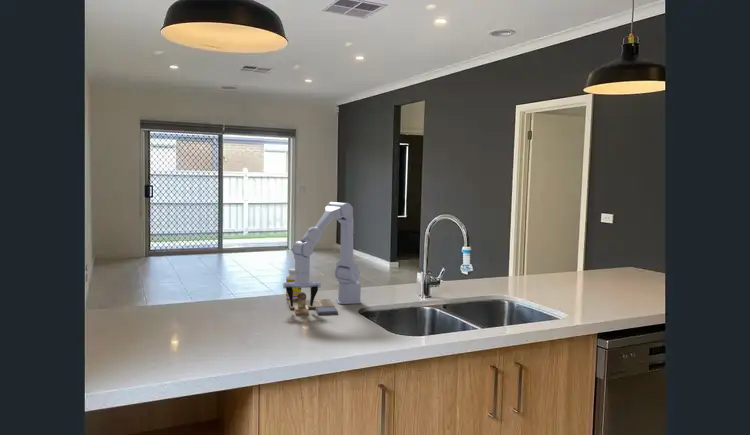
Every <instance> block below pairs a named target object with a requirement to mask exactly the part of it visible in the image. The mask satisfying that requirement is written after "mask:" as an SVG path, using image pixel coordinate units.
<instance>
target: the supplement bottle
mask: <svg viewBox="0 0 750 435" xmlns="http://www.w3.org/2000/svg"><path fill="white" fill-rule="evenodd" d="M285 279H286V281H285V283H288V282H295V268H289V269H288V274H287V275H286V278H285ZM292 289H293V300H298V299H297V295H298V294H299V293H300V292H302V288H292ZM285 298H286V299H287V300H290V298H289V295H288V293H287V290H286V289H285Z"/></svg>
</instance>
